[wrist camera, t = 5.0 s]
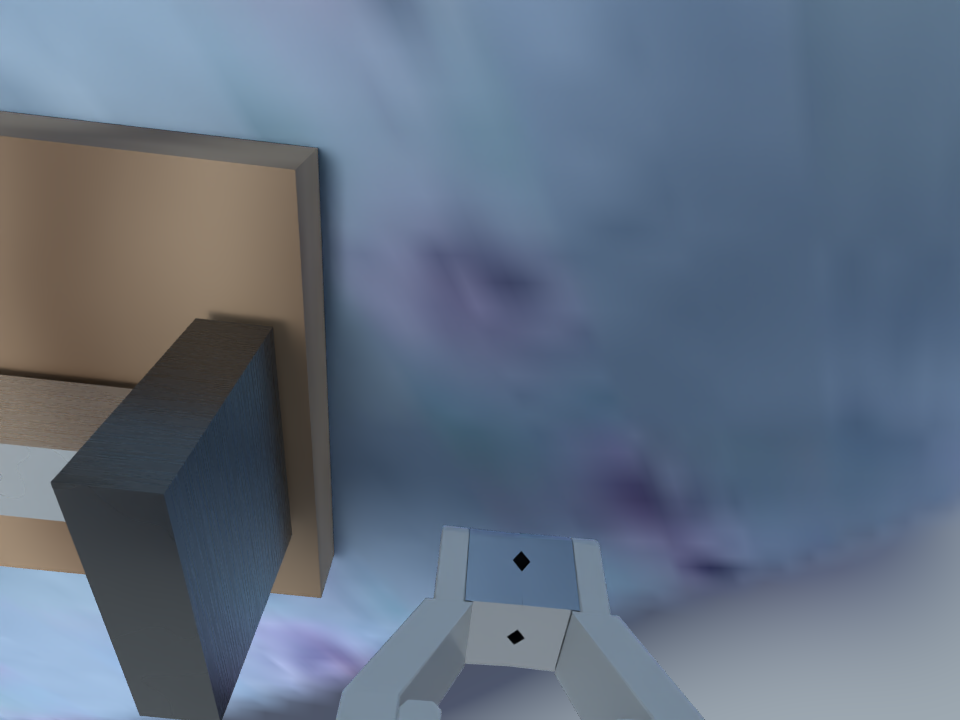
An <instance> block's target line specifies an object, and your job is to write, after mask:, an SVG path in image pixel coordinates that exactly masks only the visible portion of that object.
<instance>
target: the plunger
mask: <svg viewBox="0 0 960 720" xmlns="http://www.w3.org/2000/svg"><path fill="white" fill-rule="evenodd" d="M0 515H5V516H15V517H25V518H35V519H44V520H54V521H64V522H66V524H67V527H68V530H69V532H70V535H71V537H72V540H73V543H74V545H75V548H76V550H77V553H78V556H79V558H80V561H81V564H82V566H83V569H84V571H85V574H86V577H87V579H88V582H89V584H90V587H91V590H92V592H93V595H94V597H95V600H96V603H97V605H98V608H99V610H100V613H101V616H102V618H103V621H104V623H105V626H106V629H107V631H108V634H109V636H110V639H111V642H112V644H113V647H114V649H115V652H116V655H117V657H118V660H119V662H120V665H121V668H122V670H123V673H124V675H125V678H126V681H127V683H128V686H129V688H130V691H131V694H132V696H133V699H134V701H135V704H136V707H137V709H138V712H139V715H140V716H149V717H160V718H170V719H181V720H222V719H223V716H224V713H225V711H226V708H227V705H228V703H229V700H230V698H231V695H232V692H233V690H234V687H235V684H236V682H237V679H238V677H239V674H240V671H241V669H242V666H243V663H244V661H245V658H246V655H247V653H248V650H249V648H250V645H251V642H252V640H253V637H254V634H255V632H256V629H257V627H258V624H259V621H260V619H261V616H262V613H263V611H264V608H265V605H266V603H267V600H268V598H269V595H270V592H271V590H272V587H273V584H274V582H275V579H276V577H277V574H278V571H279V569H280V566H281V563H282V561H283V558H284V555H285V553H286V550H287V548H288V545H289V542H290V540H291V537H292V526H291V515H290V505H289V494H288V483H287V472H286V462H285V451H284V440H283V430H282V419H281V408H280V398H279V387H278V376H277V365H276V355H275V344H274V333H273V327H272V326H263V325H254V324H245V323H235V322H226V321H217V320H208V319H199V318H195V320H194V321H193V322H192V323H191V324H190V325H189V326H188V327H187V329H186V330H185V331H184V332H183V333H182V334H181V335H180V336H179V338H178V339H177V340H176V341H175V342H174V343H173V344H172V345H171V347H170V348H169V349H168V350H167V351H166V352H165V353H164V355H163V356H162V357H161V358H160V359H159V360H158V361H157V362H156V364H155V365H154V366H153V367H152V368H151V369H150V370H149V371H148V373H147V374H146V375H145V376H144V377H143V378H142V379H141V381H140V382H139V383H138V384H137V385H136V386H135V387H134V388H133V389H130V388H120V387H111V386H102V385H92V384H83V383H73V382H64V381H55V380H45V379H36V378H27V377H17V376H8V375H0Z"/></svg>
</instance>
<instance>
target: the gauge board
mask: <svg viewBox="0 0 960 720" xmlns="http://www.w3.org/2000/svg"><path fill="white" fill-rule="evenodd" d="M195 318H199V319H208V320H217V321H226V322H235V323H245V324H254V325H263V326H272V327H273V333H274V344H275V355H276V365H277V376H278V387H279V398H280V408H281V419H282V430H283V440H284V451H285V462H286V472H287V483H288V494H289V505H290V515H291V526H292V537H291V540H290V542H289V545H288V548H287V550H286V553H285V555H284V558H283V561H282V563H281V566H280V569H279V571H278V574H277V577H276V579H275V582H274V584H273V587H272V590H271V592H270V593H277V594H287V595H297V596H307V597H317V598H321V597H322V593H323V590H324V587H325V583H326V580H327V577H328V573H329V570H330V566H331V563H332V560H333V556H334V543H333V518H332V492H331V467H330V442H329V417H328V392H327V367H326V342H325V317H324V292H323V266H322V241H321V216H320V191H319V166H318V148H313V147H304V146H296V145H287V144H278V143H270V142H261V141H253V140H244V139H235V138H227V137H218V136H210V135H201V134H192V133H184V132H175V131H167V130H158V129H150V128H141V127H132V126H124V125H115V124H107V123H98V122H89V121H81V120H72V119H64V118H55V117H47V116H38V115H29V114H21V113H12V112H4V111H0V375H8V376H17V377H27V378H36V379H45V380H55V381H64V382H73V383H83V384H92V385H102V386H111V387H120V388H130V389H133V388H134V387H135V386H136V385H137V384H138V383H139V382H140V381H141V379H142V378H143V377H144V376H145V375H146V374H147V373H148V371H149V370H150V369H151V368H152V367H153V366H154V365H155V364H156V362H157V361H158V360H159V359H160V358H161V357H162V356H163V355H164V353H165V352H166V351H167V350H168V349H169V348H170V347H171V345H172V344H173V343H174V342H175V341H176V340H177V339H178V338H179V336H180V335H181V334H182V333H183V332H184V331H185V330H186V329H187V327H188V326H189V325H190V324H191V323H192V322H193V321H194V320H195ZM0 566H6V567H17V568H27V569H37V570H47V571H57V572H67V573H77V574H85V571H84V569H83V566H82V564H81V561H80V558H79V556H78V553H77V550H76V548H75V545H74V543H73V540H72V537H71V535H70V532H69V530H68V527H67V524H66V522H64V521H54V520H44V519H35V518H25V517H15V516H5V515H0Z"/></svg>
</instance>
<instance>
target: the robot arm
mask: <svg viewBox="0 0 960 720" xmlns="http://www.w3.org/2000/svg"><path fill="white" fill-rule="evenodd" d="M465 664H481V665H497V666H511V667H520V668H528V669H537V670H546V671H553V672H555V676H556V677H557V679H558V681H559V682H560V684H561V686H562V688H563V689H564V691H565V693H566V695H567V696H568V698H569V700H570V701H571V703H572V705H573V707H574V708H575V710H576V712H577V714H578V715H579V717H580V719H581V720H705V719H704V718H703V717H702V715H701V714H700V713H699V712H698V711H697V709H696V708H695V707H694V706H693V705H692V703H691V702H690V701H689V700H688V699H687V698H686V696H685V695H684V694H683V693H682V692H681V690H680V689H679V688H678V687H677V685H676V684H675V683H674V682H673V681H672V679H671V678H670V677H669V676H668V675H667V673H666V672H665V671H664V670H663V668H662V667H661V666H660V665H659V664H658V662H657V661H656V660H655V659H654V658H653V656H652V655H651V654H650V653H649V652H648V651H647V649H646V648H645V647H644V646H643V644H642V643H641V642H640V641H639V640H638V638H637V637H636V636H635V635H634V634H633V632H632V631H631V630H630V629H629V627H628V626H627V625H626V624H625V623H624V621H623V620H622V619H621V618H620V617H619V616H616V615H611V612H610V606H609V599H608V593H607V587H606V581H605V575H604V569H603V563H602V557H601V550H600V544H599V543H598V541H597V540H593V539H582V538H570V537H563V536H551V535H539V534H526V533H519V534H518V533H510V532H501V531H493V530H485V529H476V528H470V529H469V528H465V527H457V526H448V525H443V528H442V532H441V540H440V549H439V557H438V566H437V574H436V583H435V591H434V598H425V600H424V601H423V602H422V603H421V604H420V605H419V606H418V607H417V608H416V610H415V611H414V612H413V613H412V614H411V615H410V616H409V617H408V619H407V620H406V621H405V622H404V623H403V624H402V625H401V626H400V627H399V629H398V630H397V631H396V632H395V633H394V634H393V635H392V636H391V637H390V639H389V640H388V641H387V642H386V643H385V644H384V645H383V646H382V648H381V649H380V650H379V651H378V652H377V653H376V654H375V655H374V656H373V658H372V659H371V660H370V661H369V662H368V663H367V664H366V665H365V666H364V668H363V669H362V670H361V671H360V672H359V673H358V674H357V675H356V676H355V678H354V679H353V680H352V681H351V682H350V683H349V684H348V685H347V687H346V688H345V689H344V690H343V691H342V696H341V700H340V704H339V708H338V713H337V717H336V720H441V709H440V708H439V707H438V705H439V704H440V702H441V701H442V699H443V698H444V696H445V695H446V693H447V692H448V690H449V689H450V687H451V686H452V684H453V683H454V681H455V680H456V678H457V677H458V675H459V673H460V672H461V670H462V669H463V668H464V665H465Z"/></svg>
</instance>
